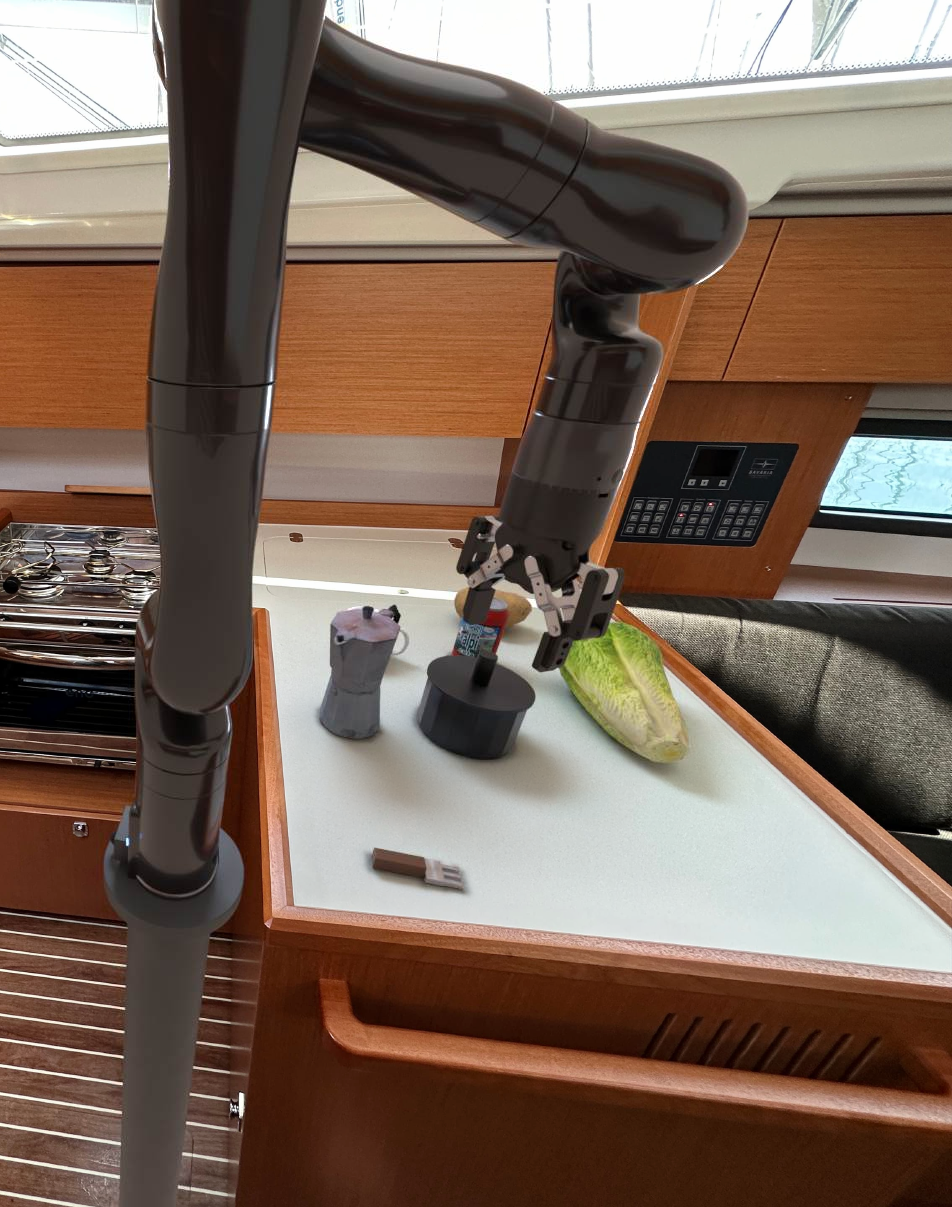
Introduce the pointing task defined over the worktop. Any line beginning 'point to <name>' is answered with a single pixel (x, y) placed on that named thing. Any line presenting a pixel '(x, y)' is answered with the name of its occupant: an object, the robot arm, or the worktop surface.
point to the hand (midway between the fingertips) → (506, 644)
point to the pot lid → (481, 683)
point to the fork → (417, 867)
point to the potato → (515, 602)
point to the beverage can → (482, 632)
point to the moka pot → (358, 669)
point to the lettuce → (628, 692)
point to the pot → (466, 726)
